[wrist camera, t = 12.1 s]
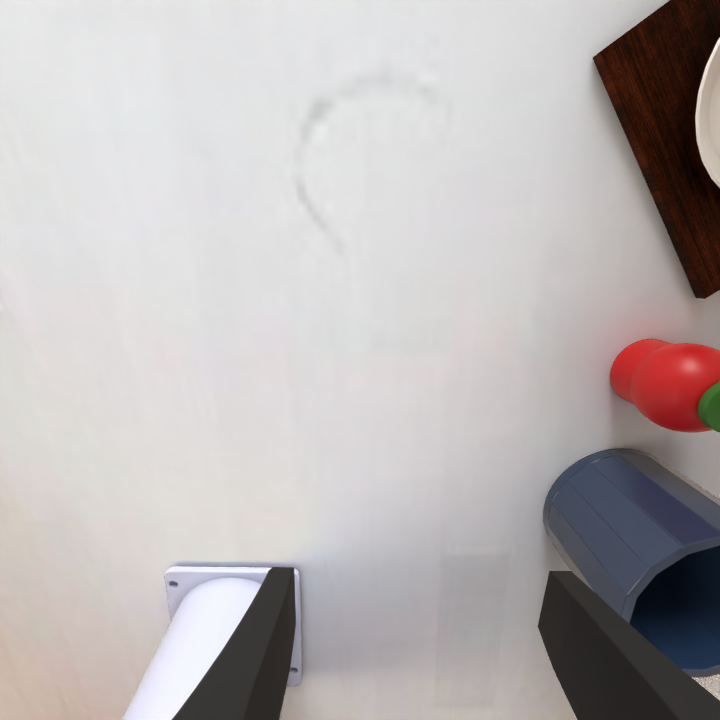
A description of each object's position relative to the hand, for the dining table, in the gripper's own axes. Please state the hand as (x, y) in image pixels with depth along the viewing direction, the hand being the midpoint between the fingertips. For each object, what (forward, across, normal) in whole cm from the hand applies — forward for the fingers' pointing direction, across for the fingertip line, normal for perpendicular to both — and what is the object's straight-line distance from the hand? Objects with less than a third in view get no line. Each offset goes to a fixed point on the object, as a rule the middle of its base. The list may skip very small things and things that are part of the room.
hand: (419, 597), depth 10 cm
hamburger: (+10, -16, -16) cm, 25 cm away
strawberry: (+10, -13, -4) cm, 17 cm away
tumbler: (+10, -13, +4) cm, 17 cm away
